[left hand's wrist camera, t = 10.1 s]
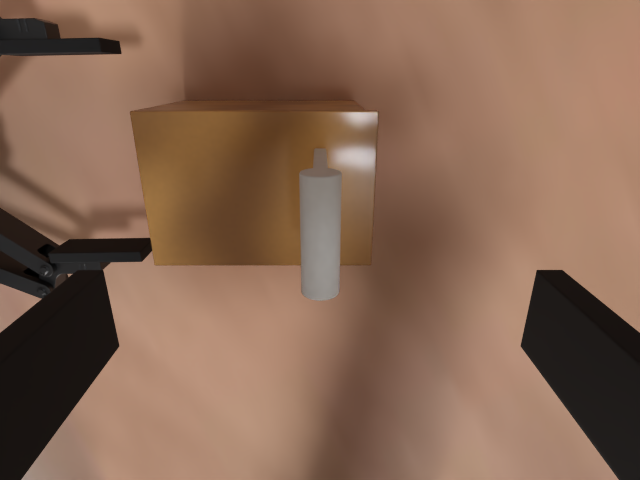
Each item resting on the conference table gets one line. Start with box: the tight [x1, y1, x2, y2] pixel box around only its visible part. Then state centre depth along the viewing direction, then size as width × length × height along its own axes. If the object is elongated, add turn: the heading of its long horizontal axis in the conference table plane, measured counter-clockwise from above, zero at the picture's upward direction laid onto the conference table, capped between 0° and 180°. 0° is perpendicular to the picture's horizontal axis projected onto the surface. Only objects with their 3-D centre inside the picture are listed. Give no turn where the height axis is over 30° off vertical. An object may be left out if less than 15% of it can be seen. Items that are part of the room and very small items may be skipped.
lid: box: [130, 110, 379, 301], centre depth 22 cm, size 14×10×9 cm
